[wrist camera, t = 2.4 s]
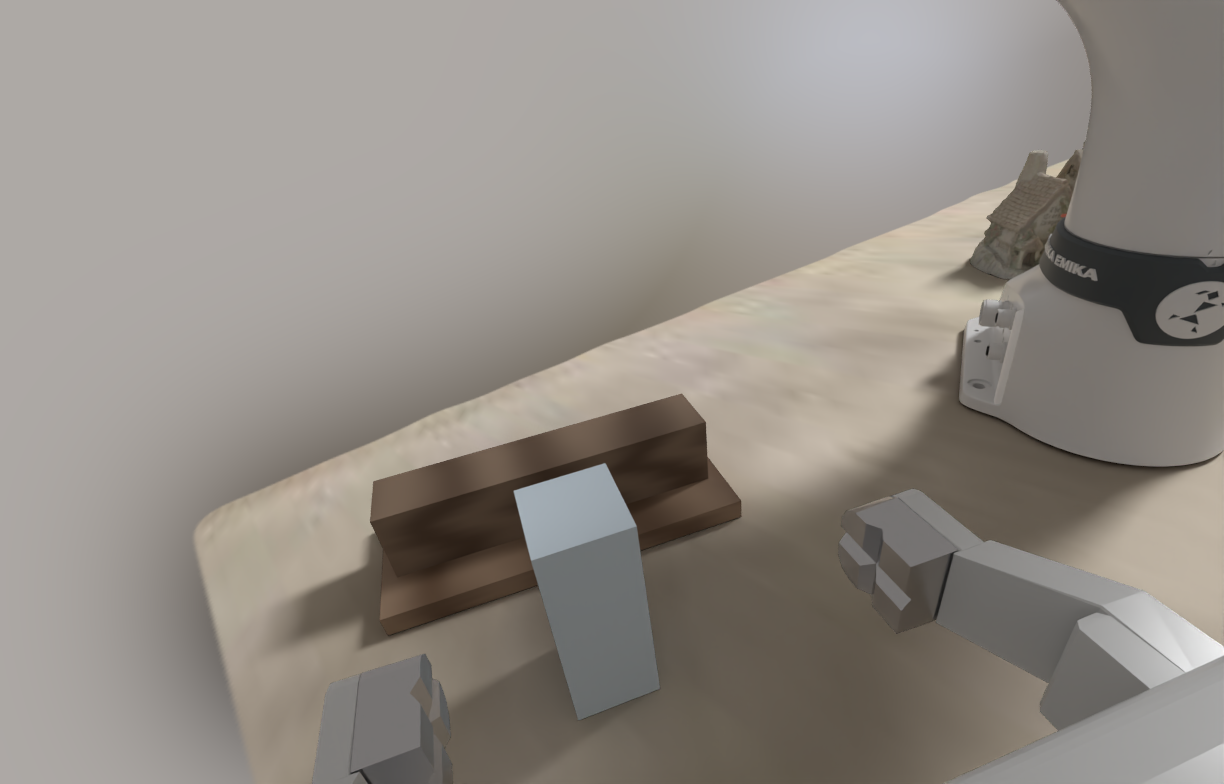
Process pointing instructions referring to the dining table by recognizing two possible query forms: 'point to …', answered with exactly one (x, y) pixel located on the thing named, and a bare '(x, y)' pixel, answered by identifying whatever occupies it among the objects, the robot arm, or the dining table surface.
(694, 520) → the stand
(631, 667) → the pillar
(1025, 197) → the ceramic cottage
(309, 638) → the dining table surface
